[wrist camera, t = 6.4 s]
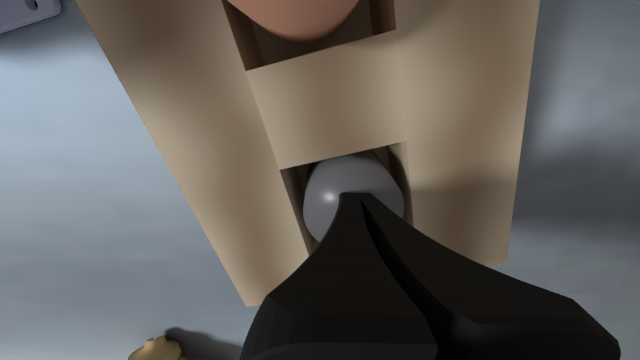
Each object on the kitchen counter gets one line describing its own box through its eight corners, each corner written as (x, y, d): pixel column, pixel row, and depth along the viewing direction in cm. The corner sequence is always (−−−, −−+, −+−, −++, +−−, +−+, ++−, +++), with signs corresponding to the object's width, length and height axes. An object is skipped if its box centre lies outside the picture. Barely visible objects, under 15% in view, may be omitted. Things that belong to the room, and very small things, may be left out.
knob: (317, 217, 15) (316, 259, 11) (297, 152, 13) (290, 179, 10) (388, 203, 14) (408, 242, 11) (378, 133, 12) (399, 155, 9)
